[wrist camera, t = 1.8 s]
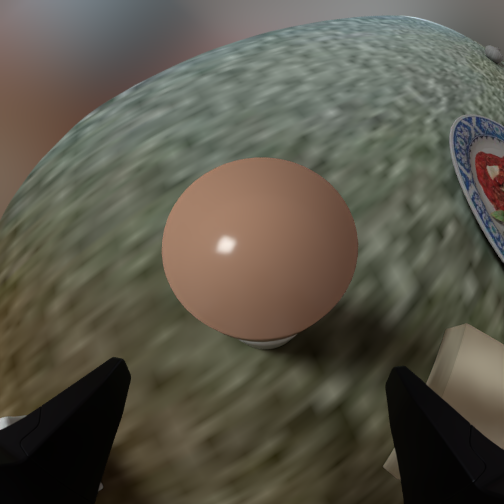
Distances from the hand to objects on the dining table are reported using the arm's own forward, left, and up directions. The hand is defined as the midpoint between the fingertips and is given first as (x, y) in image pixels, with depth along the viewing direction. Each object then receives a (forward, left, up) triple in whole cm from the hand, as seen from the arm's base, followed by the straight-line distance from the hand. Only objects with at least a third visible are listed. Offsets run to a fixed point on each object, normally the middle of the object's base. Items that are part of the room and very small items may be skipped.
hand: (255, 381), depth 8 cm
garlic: (+89, -26, -11) cm, 93 cm away
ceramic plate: (+29, -21, -11) cm, 37 cm away
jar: (+4, +2, -11) cm, 11 cm away
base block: (+3, -18, -11) cm, 21 cm away
